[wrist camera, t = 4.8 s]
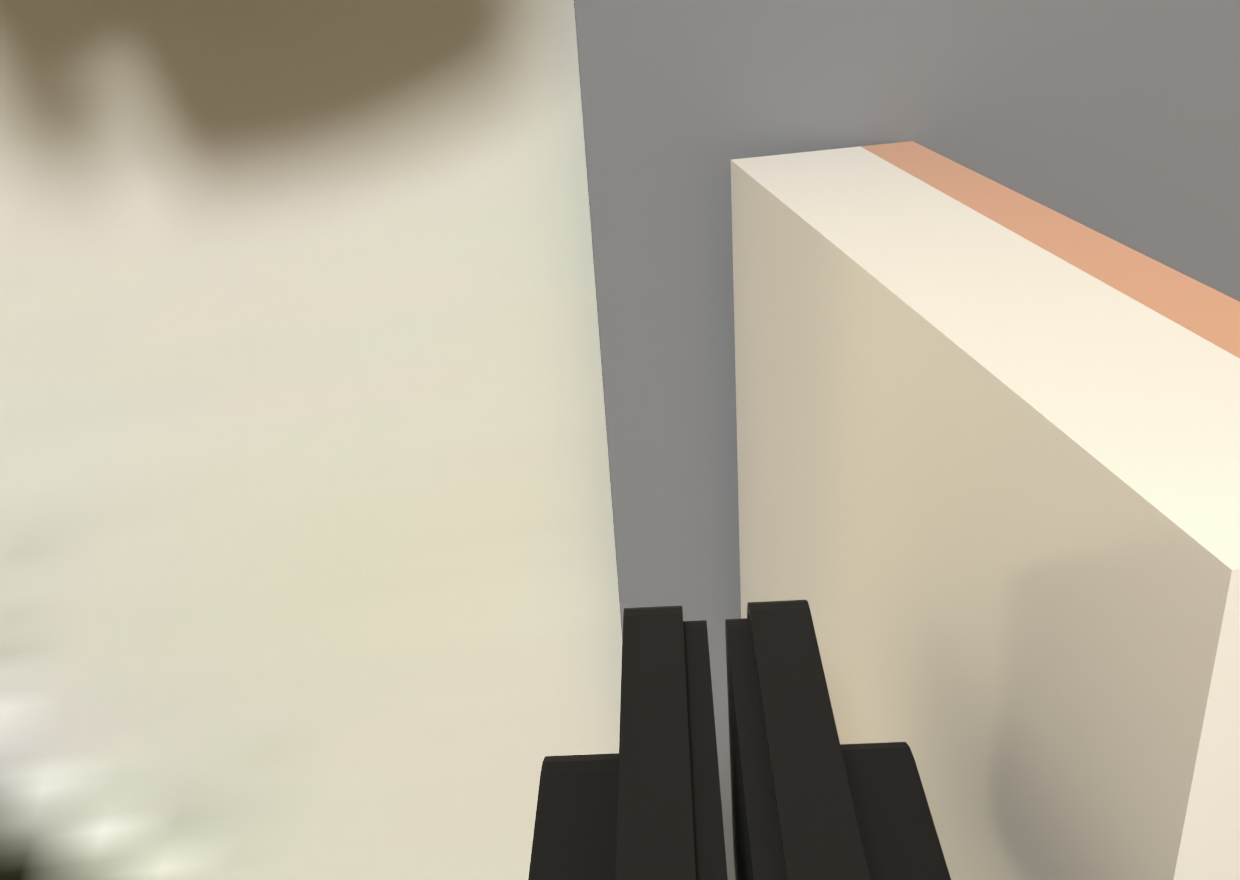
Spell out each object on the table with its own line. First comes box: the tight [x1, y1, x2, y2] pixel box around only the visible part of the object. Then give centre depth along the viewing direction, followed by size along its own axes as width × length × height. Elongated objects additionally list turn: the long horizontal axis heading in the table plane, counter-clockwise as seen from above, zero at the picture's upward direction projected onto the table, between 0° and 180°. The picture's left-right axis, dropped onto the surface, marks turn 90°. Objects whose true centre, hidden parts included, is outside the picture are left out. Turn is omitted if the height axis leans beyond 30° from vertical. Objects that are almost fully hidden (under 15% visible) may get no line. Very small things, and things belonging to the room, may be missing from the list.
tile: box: [731, 141, 1240, 880], centre depth 12 cm, size 8×2×10 cm, turn 4°
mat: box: [574, 0, 1240, 880], centre depth 17 cm, size 18×16×1 cm
